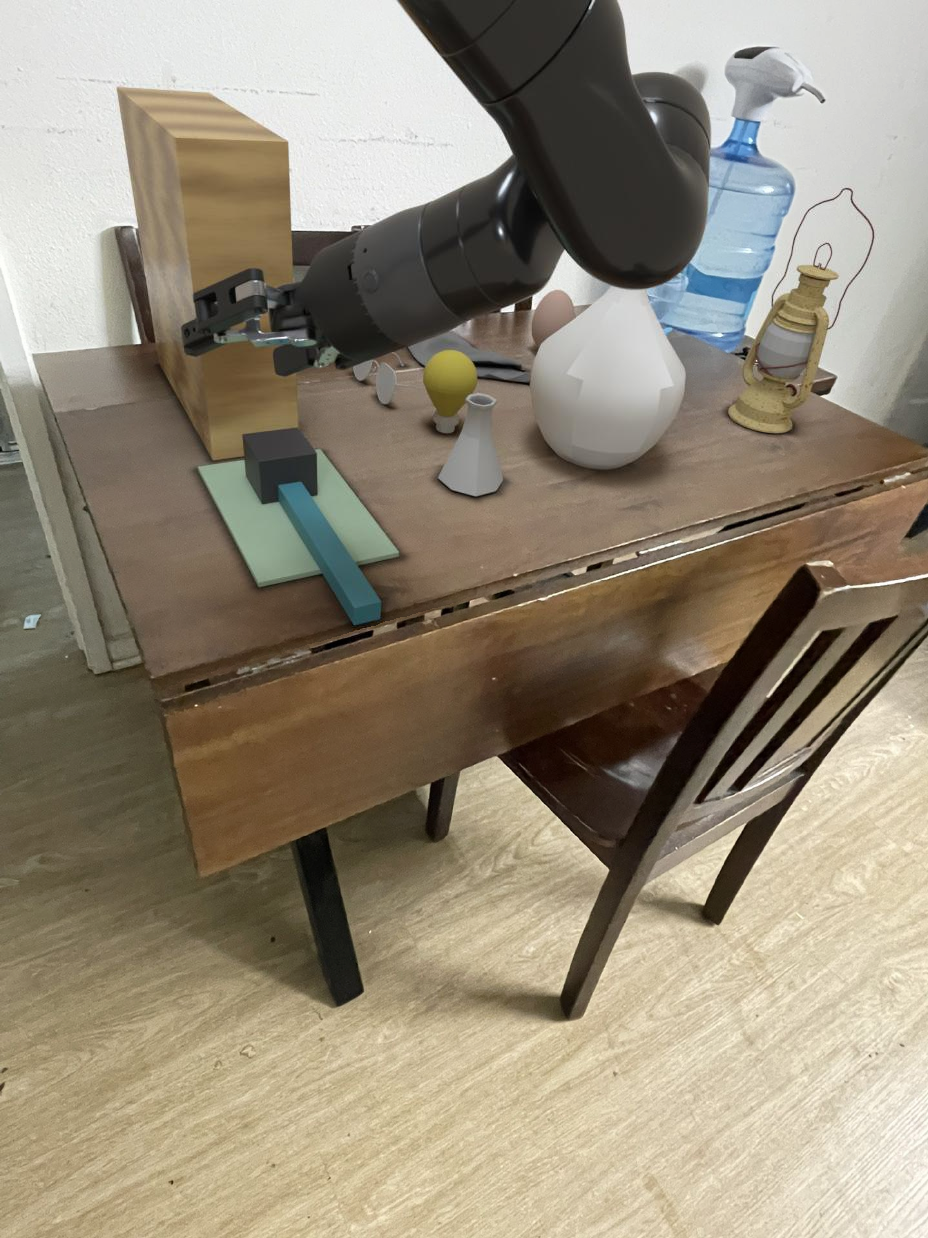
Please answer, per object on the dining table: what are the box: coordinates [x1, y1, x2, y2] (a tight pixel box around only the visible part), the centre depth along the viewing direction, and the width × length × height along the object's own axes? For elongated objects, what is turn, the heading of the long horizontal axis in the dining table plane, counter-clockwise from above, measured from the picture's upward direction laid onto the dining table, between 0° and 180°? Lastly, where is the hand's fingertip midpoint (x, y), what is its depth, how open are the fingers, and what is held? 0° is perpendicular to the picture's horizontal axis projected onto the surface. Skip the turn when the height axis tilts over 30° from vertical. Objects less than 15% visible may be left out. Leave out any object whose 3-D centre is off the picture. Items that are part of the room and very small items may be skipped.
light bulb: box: [422, 350, 478, 434], centre depth 93 cm, size 7×7×10 cm
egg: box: [530, 289, 577, 349], centre depth 118 cm, size 7×7×10 cm
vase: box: [529, 286, 687, 471], centre depth 87 cm, size 18×18×30 cm
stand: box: [116, 86, 299, 461], centre depth 85 cm, size 28×10×31 cm, turn 28°
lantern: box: [727, 187, 875, 434], centre depth 100 cm, size 12×10×30 cm
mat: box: [197, 448, 400, 588], centre depth 78 cm, size 22×14×1 cm, turn 28°
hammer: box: [242, 426, 382, 626], centre depth 73 cm, size 28×6×5 cm, turn 28°
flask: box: [437, 392, 504, 497], centre depth 84 cm, size 7×7×10 cm
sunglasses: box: [352, 352, 426, 405], centre depth 104 cm, size 14×8×5 cm, turn 30°
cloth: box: [407, 331, 531, 384], centre depth 114 cm, size 26×14×2 cm, turn 42°
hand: (234, 353), depth 58 cm, fingers open, 8 cm apart
